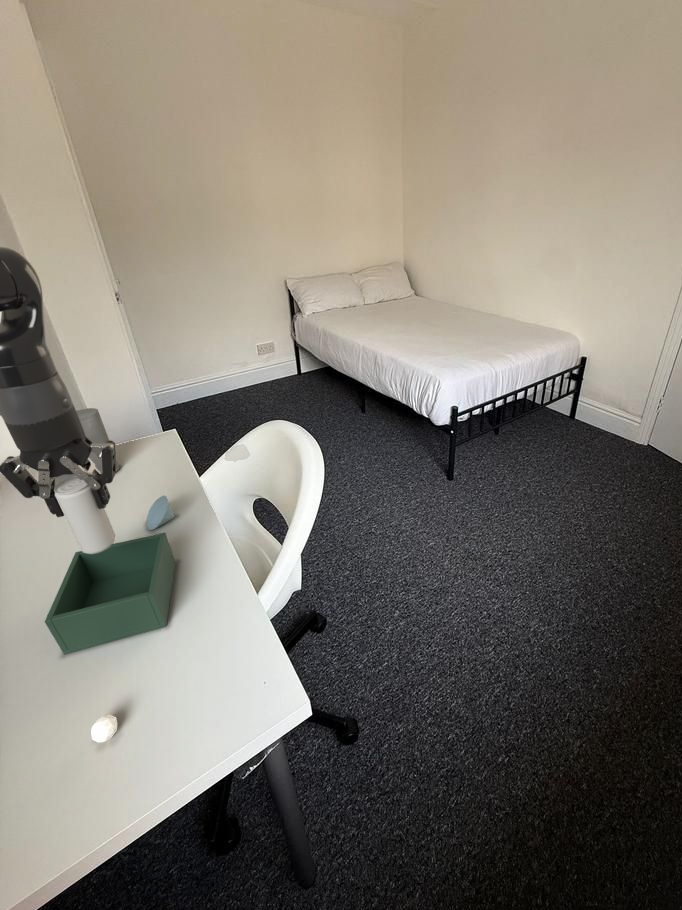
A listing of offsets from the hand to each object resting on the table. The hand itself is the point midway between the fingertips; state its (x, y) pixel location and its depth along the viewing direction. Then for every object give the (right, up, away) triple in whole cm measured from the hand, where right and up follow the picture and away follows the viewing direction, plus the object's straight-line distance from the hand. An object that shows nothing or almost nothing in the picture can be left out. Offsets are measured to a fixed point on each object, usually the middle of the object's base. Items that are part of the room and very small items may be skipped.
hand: (83, 509), depth 63 cm
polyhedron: (+9, -28, -8) cm, 31 cm away
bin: (+1, -19, +10) cm, 21 cm away
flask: (-31, -2, +45) cm, 55 cm away
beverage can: (0, -7, +3) cm, 8 cm away
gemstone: (-3, -9, +28) cm, 30 cm away
